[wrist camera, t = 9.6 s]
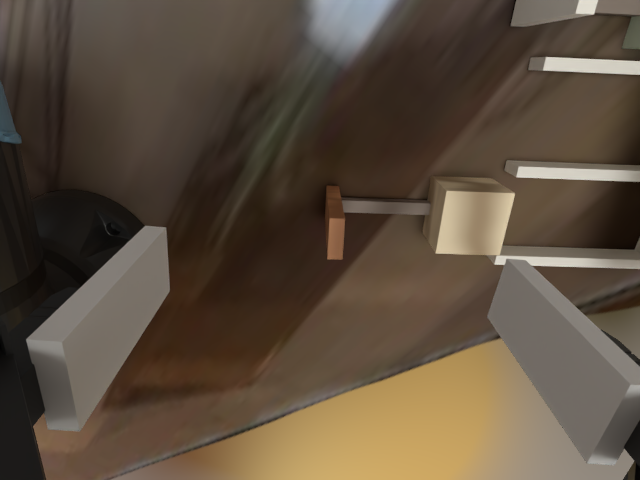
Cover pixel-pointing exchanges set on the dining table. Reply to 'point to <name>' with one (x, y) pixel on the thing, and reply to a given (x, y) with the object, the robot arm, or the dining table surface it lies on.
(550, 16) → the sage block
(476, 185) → the birch block
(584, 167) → the lane rack
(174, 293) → the dining table surface
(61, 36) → the dining table surface
